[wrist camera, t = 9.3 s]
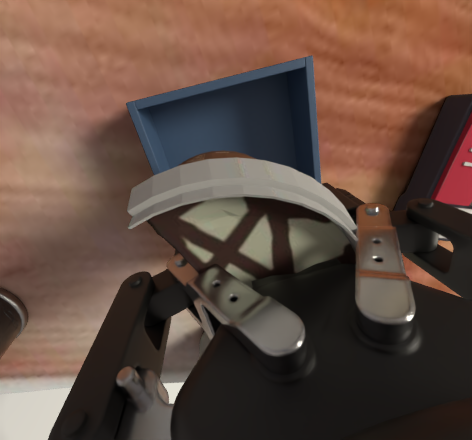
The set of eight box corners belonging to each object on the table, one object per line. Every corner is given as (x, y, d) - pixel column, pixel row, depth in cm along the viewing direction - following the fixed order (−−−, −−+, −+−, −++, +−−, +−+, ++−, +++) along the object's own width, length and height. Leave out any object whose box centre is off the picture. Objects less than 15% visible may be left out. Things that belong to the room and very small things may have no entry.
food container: (325, 231, 20) (423, 340, 11) (260, 270, 21) (304, 398, 12) (245, 85, 15) (312, 73, 6) (163, 145, 16) (112, 214, 7)
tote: (192, 241, 29) (190, 269, 25) (140, 101, 22) (125, 103, 18) (304, 211, 30) (324, 233, 25) (289, 63, 23) (313, 55, 18)
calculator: (573, 113, 24) (490, 247, 30) (521, 112, 28) (456, 231, 34) (484, 92, 22) (413, 241, 28) (441, 94, 26) (386, 224, 32)
